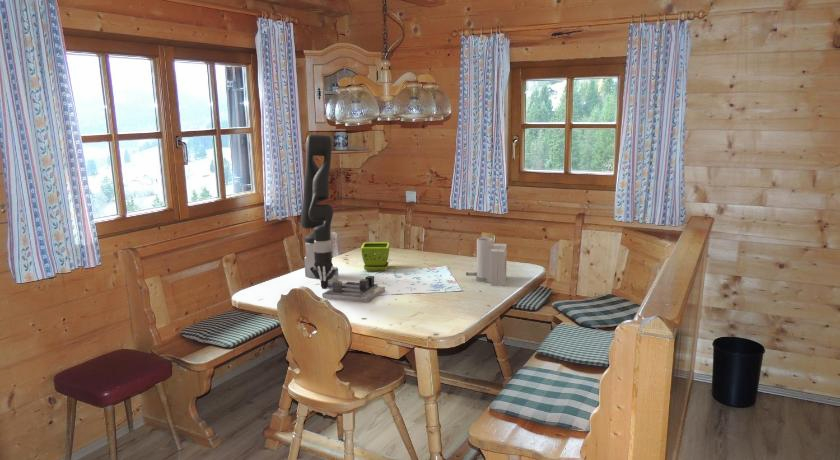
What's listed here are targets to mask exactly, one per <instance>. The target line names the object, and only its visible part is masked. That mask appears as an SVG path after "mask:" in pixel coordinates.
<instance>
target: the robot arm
mask: <svg viewBox="0 0 840 460" xmlns="http://www.w3.org/2000/svg"><path fill="white" fill-rule="evenodd" d="M332 143H333V142H332V138H331V136H330V135H327V134H326V135H325V134H323V135H322V134H309V135H308V136H307V137H306V142H305V171H304V178H303V179H304V181H303V198H302V200H303V201H302V207H301V212H300V224H301V227H302V228H303V229H308V230H309V229H313V231H312V232H311V233H309V234H307V235H306V236H305V237H304V242H305V243H304V244H305V246H304V248H305V257H304V259H303V261H304V275H305V277H307V278H311V279H316V280H320V287H321V289H322V290H326V289H328V288H329V287H328V280H329V279H331V278H332V277H333V276H334V274H335V273H336V272H337V270H338V271H339V269H337V268H338V267H337V268H334V267H335V266H333V265H334V264H333V255H332V254H333V251H332V249H333V248H332V241H331V225H332V221H333V216H334V208H333V206H332V205H331V204H327V203H325V204H319V203H321V202H324V201H327V200H328V199H329V196H330V172H331V163H332V162H331V161H332V150H333V148H332V147H333V145H332ZM314 156H315V157H323V162H322V164H321V166H320V167H319V166H318V164H317V163H316V160H315V158H314ZM330 270H331V273H330V274H329V271H330ZM328 275H329V276H328Z"/></svg>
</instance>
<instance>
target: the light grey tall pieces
mask: <svg viewBox="0 0 840 460" xmlns="http://www.w3.org/2000/svg"><path fill="white" fill-rule="evenodd" d="M507 245H508V244H507V243H494V239H493V238H491V237H479V238H478V237H477V238H476V271H475V272H465V275H466V277H467V276H469V277H472V276H473V277H475V279H476V281H477V282H486V283H488V284H490V286H494V287H497V286H498V287H505V283H506V279H507V256H508V255H507V254H508V253H507V248H508V247H507Z"/></svg>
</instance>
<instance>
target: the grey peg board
mask: <svg viewBox="0 0 840 460" xmlns="http://www.w3.org/2000/svg"><path fill="white" fill-rule="evenodd" d="M384 292H386V286H381V285H378V283H375V275H366V276H365V278H364V279H363V278H362V279H360V280H359V282H358V281H357V282H356V281H346V282H342V292H341V293H340V292H333V287H330V289H328V290H326V291H325V292H323V293H322V294H321V296H322V297H323V298H322V297H321V298H322V299H325V298H327V299H329V300H337V301H346V302H355V303H356V302H357V303H365V304H369V303H370V302H372V301H373V300H375V299H376V298H378V297H379V296H380V295H382V294H383V293H384Z"/></svg>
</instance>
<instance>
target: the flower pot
mask: <svg viewBox="0 0 840 460" xmlns="http://www.w3.org/2000/svg"><path fill="white" fill-rule="evenodd" d="M390 245H391V242H386V241H385V242H381V241H379V242H377V241H376V242H374V241H373V242H363V244H362V245H361V248H360V250H361V257H362V261H363V263H364V265H363V269H364V271H368V272H373V271H375V272H385V271H386V270H387V269H388V266H389V263H390V262H389V261H388V259H389V254H390V248H391V247H390Z"/></svg>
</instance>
